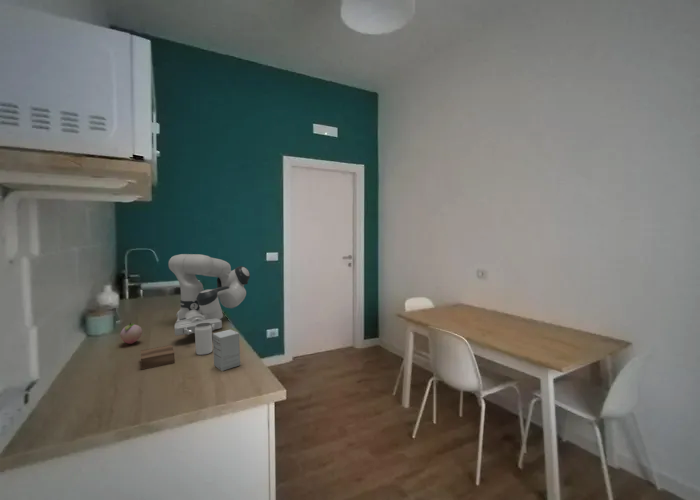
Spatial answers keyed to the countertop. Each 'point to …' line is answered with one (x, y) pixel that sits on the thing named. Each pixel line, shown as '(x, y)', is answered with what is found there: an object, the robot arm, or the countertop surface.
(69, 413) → the countertop surface
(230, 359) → the supplement box
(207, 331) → the can
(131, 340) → the decorative fruit
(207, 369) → the countertop surface
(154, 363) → the walnut base
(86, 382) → the countertop surface
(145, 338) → the countertop surface
